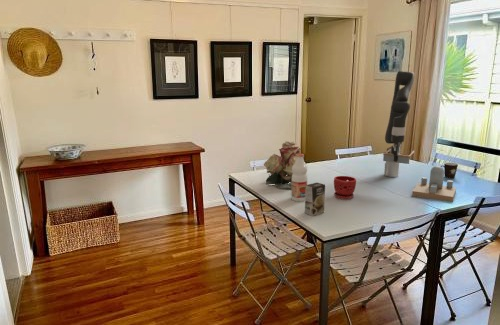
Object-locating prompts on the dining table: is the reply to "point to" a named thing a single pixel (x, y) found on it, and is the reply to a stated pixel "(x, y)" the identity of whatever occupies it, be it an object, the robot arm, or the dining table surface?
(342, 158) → the dining table surface
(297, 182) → the fruit juice
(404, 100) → the robot arm
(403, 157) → the thin wooden rail frame
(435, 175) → the wooden peg board
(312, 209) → the coffee box
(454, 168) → the coffee mug
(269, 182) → the rose bouquet
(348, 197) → the plant pot
